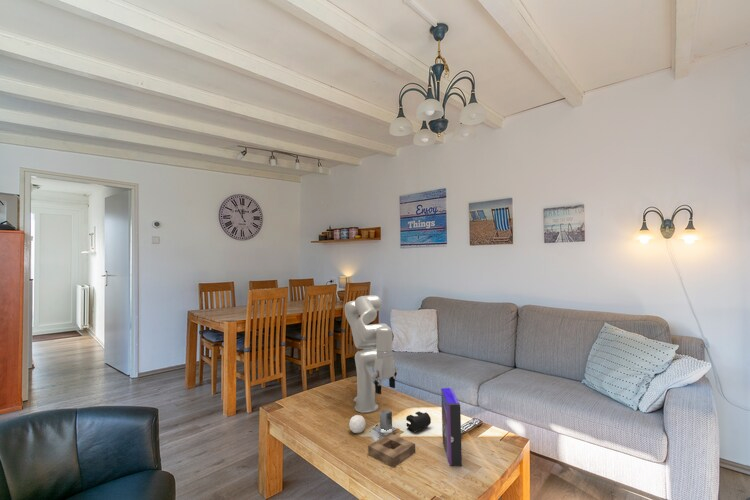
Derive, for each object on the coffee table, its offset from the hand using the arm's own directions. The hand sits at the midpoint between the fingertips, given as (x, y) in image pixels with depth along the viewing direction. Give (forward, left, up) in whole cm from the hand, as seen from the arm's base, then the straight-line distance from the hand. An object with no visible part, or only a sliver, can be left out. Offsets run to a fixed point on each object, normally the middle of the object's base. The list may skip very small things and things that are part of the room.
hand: (385, 390), depth 168 cm
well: (+13, -11, -20) cm, 26 cm away
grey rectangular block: (0, 0, -20) cm, 20 cm away
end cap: (+9, +13, -20) cm, 26 cm away
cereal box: (+32, +5, -20) cm, 38 cm away
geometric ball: (-11, -8, -20) cm, 24 cm away
